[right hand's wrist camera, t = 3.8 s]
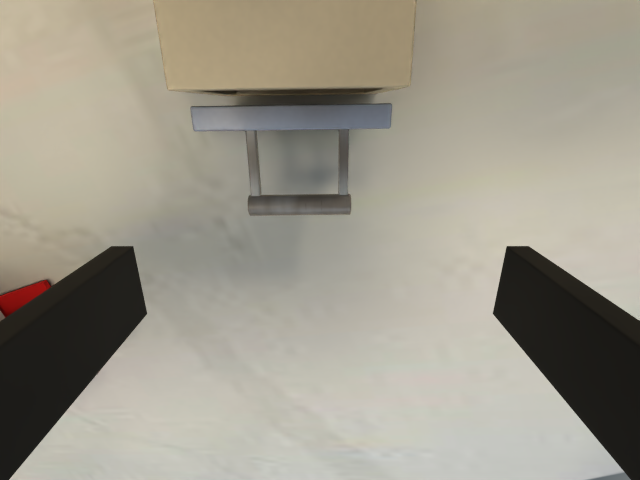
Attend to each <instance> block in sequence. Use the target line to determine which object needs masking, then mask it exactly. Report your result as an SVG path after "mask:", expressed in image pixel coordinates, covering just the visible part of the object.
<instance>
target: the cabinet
mask: <svg viewBox="0 0 640 480" xmlns="http://www.w3.org/2000/svg"><path fill="white" fill-rule="evenodd" d="M153 1H154V8H155V14H156V21H157V27H158V33H159V40H160V46H161V52H162V59H163V65H164V72H165V78H166V84H167V89H168V90H169V91H179V92H190V93H200V94H211V95H221V96H258V95H324V94H377V93H382V92H387V91H391V90H396V89H401V88H405V87H409V86H410V83H411V69H412V55H413V41H414V28H415V14H416V0H153Z"/></svg>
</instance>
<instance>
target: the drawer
mask: <svg viewBox="0 0 640 480" xmlns="http://www.w3.org/2000/svg"><path fill="white" fill-rule="evenodd" d="M191 116H192V123H193V130H194V131H246V141H247V153H248V164H249V176H250V187H251V195H250V196H249V198H248V212H249V215H250V216H267V215H350V214H351V195H350V194H348V150H349V129H389V128H390V127H391V116H392V104H391V103H383V104H316V105H249V106H192V107H191ZM323 129H339V181H338V193H339V194H306V195H261V182H260V169H259V156H258V143H257V130H323Z"/></svg>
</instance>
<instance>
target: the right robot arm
mask: <svg viewBox="0 0 640 480" xmlns="http://www.w3.org/2000/svg"><path fill="white" fill-rule="evenodd" d="M146 314H147V311H146V306H145V301H144V296H143V292H142V287H141V282H140V277H139V272H138V267H137V263H136V258H135V253H134V248H133V246H111V247H110V248H108V249H107V250H105V251H104V252H102V253H101V254H99V255H98V256H96V257H95V258H93V259H92V260H90V261H89V262H87V263H86V264H84V265H83V266H81V267H80V268H78V269H77V270H75V271H74V272H73V273H71V274H70V275H68V276H67V277H65V278H64V279H62V280H61V281H59V282H58V283H56V284H55V285H53V286H52V287H50V288H49V289H47V290H46V291H44V292H43V293H41V294H40V295H38V296H37V297H35V298H34V299H32V300H31V301H29V302H28V303H26V304H25V305H23V306H22V307H21V308H19V309H18V310H16V311H15V312H13V313H12V314H10V315H9V316H7V317H6V318H4V319H3V320H1V321H0V480H9V479H10V478H11V477H12V475H13V474H14V473H15V472H16V471H17V469H18V468H19V467H20V466H21V465H22V463H23V462H24V461H25V460H26V459H27V457H28V456H29V455H30V454H31V453H32V451H33V450H34V449H35V448H36V447H37V445H38V444H39V443H40V442H41V441H42V439H43V438H44V437H45V436H46V435H47V433H48V432H49V431H50V430H51V429H52V427H53V426H54V425H55V424H56V423H57V421H58V420H59V419H60V418H61V417H62V415H63V414H64V413H65V412H66V411H67V409H68V408H69V407H70V406H71V405H72V403H73V402H74V401H75V400H76V399H77V397H78V396H79V395H80V394H81V392H82V391H83V390H84V389H85V388H86V386H87V385H88V384H89V383H90V382H91V380H92V379H93V378H94V377H95V376H96V374H97V373H98V372H99V371H100V370H101V368H102V367H103V366H104V365H105V364H106V362H107V361H108V360H109V359H110V358H111V356H112V355H113V354H114V353H115V352H116V350H117V349H118V348H119V347H120V346H121V344H122V343H123V342H124V341H125V340H126V338H127V337H128V336H129V335H130V334H131V332H132V331H133V330H134V329H135V328H136V326H137V325H138V324H139V323H140V322H141V320H142V319H143V318H144V317H145V316H146ZM493 314H494V316H495V317H496V318H497V319H498V320H499V322H500V323H501V324H502V325H503V326H504V328H505V329H506V330H507V331H508V332H509V334H510V335H511V336H512V337H513V338H514V340H515V341H516V342H517V343H518V344H519V346H520V347H521V348H522V349H523V350H524V352H525V353H526V354H527V355H528V356H529V358H530V359H531V360H532V361H533V362H534V364H535V365H536V366H537V367H538V368H539V370H540V371H541V372H542V373H543V374H544V376H545V377H546V378H547V379H548V380H549V382H550V383H551V384H552V385H553V386H554V388H555V389H556V390H557V391H558V392H559V394H560V395H561V396H562V397H563V399H564V400H565V401H566V402H567V403H568V405H569V406H570V407H571V408H572V409H573V411H574V412H575V413H576V414H577V415H578V417H579V418H580V419H581V420H582V421H583V423H584V424H585V425H586V426H587V427H588V429H589V430H590V431H591V432H592V433H593V435H594V436H595V437H596V438H597V439H598V441H599V442H600V443H601V444H602V445H603V447H604V448H605V449H606V450H607V451H608V453H609V454H610V455H611V456H612V457H613V459H614V460H615V461H616V462H617V463H618V465H619V466H620V467H621V468H622V469H623V471H624V472H625V473H626V474H627V475H628V477H629V478H630V479H631V480H640V321H639V320H637V319H636V318H634V317H633V316H631V315H630V314H628V313H627V312H625V311H624V310H622V309H621V308H619V307H618V306H617V305H615V304H614V303H612V302H611V301H609V300H608V299H606V298H605V297H603V296H602V295H600V294H599V293H597V292H596V291H594V290H593V289H591V288H590V287H588V286H587V285H585V284H584V283H582V282H581V281H579V280H578V279H576V278H575V277H573V276H572V275H570V274H569V273H567V272H566V271H565V270H563V269H562V268H560V267H559V266H557V265H556V264H554V263H553V262H551V261H550V260H548V259H547V258H545V257H544V256H542V255H541V254H539V253H538V252H536V251H535V250H533V249H532V248H530V247H529V246H507V248H506V253H505V258H504V263H503V267H502V272H501V277H500V282H499V287H498V292H497V296H496V301H495V306H494V311H493Z"/></svg>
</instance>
